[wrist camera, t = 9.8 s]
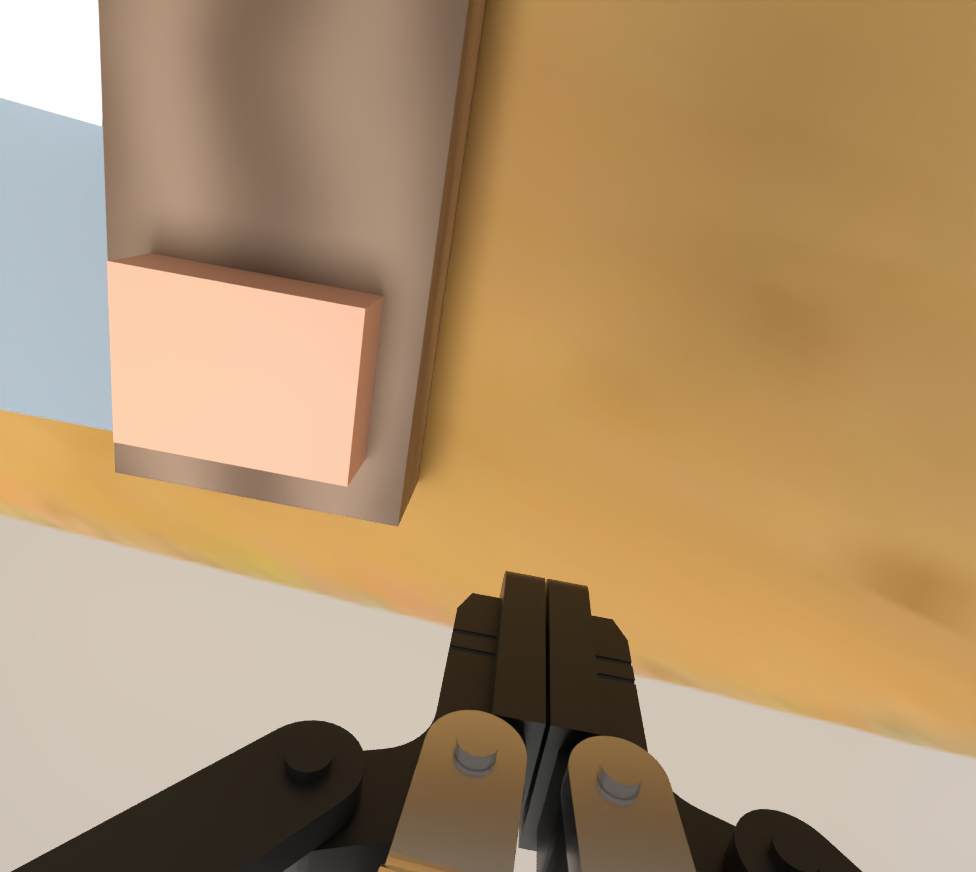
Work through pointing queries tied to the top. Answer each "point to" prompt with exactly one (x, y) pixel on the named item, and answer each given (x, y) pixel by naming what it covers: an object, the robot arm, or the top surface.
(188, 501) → the top surface
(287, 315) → the terracotta tile
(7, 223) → the slate mat
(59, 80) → the cream tile
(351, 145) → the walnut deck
